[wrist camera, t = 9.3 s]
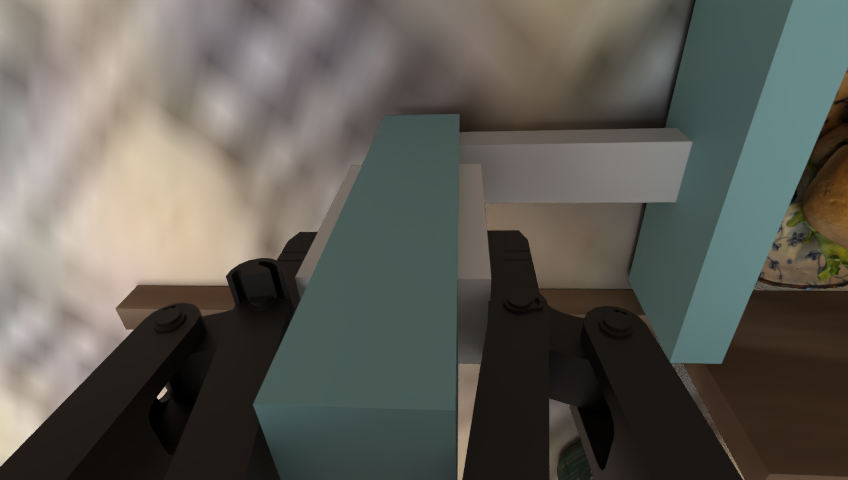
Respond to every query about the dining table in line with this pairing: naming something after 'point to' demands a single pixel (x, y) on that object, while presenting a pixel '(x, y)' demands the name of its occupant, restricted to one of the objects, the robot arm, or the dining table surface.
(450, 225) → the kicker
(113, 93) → the dining table surface
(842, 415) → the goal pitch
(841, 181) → the burger
